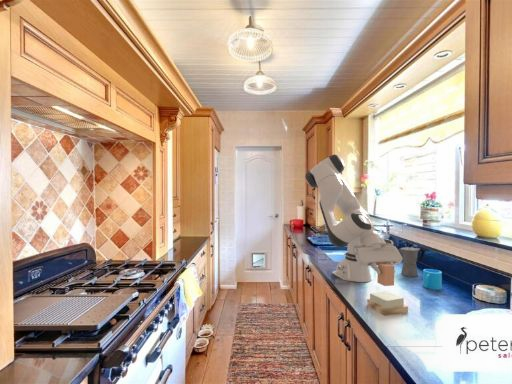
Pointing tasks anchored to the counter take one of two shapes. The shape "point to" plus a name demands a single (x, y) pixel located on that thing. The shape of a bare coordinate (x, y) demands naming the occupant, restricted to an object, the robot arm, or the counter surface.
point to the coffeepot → (410, 260)
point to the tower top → (386, 299)
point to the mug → (432, 279)
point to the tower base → (387, 310)
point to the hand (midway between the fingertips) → (386, 273)
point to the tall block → (386, 274)
